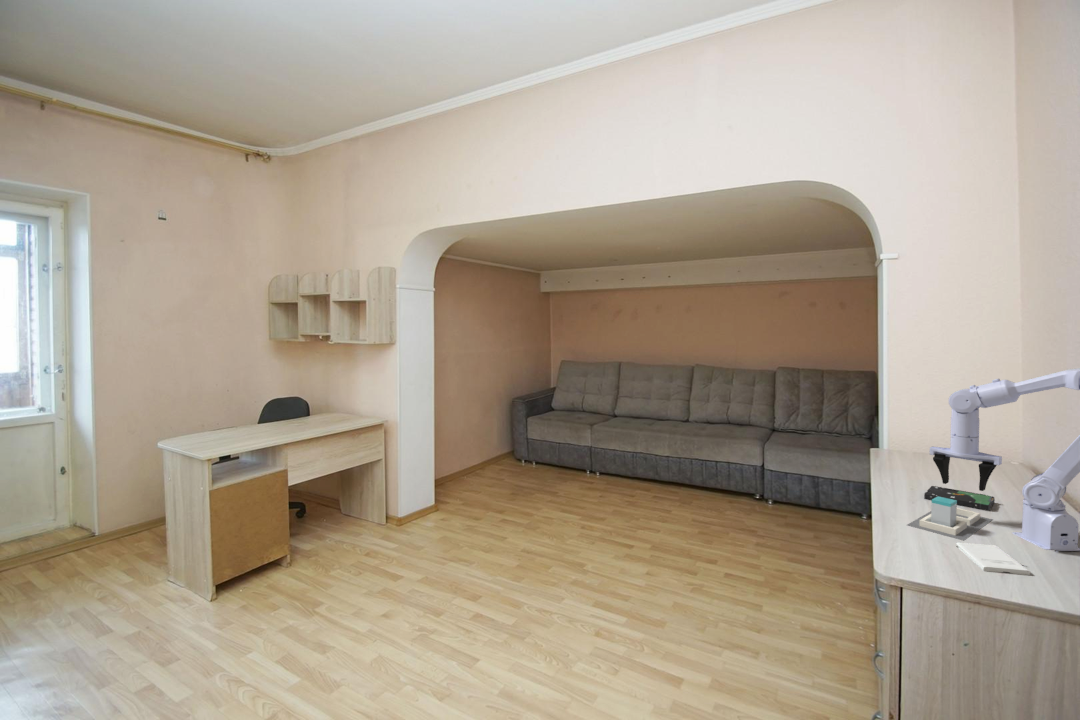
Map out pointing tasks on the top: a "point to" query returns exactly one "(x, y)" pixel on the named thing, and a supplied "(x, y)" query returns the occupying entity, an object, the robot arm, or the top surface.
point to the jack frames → (960, 522)
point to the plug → (944, 511)
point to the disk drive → (961, 497)
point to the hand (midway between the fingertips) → (963, 486)
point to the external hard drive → (992, 558)
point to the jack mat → (961, 535)
